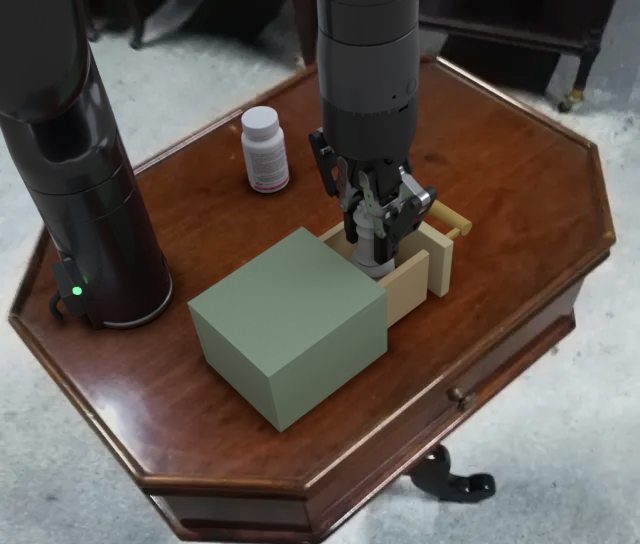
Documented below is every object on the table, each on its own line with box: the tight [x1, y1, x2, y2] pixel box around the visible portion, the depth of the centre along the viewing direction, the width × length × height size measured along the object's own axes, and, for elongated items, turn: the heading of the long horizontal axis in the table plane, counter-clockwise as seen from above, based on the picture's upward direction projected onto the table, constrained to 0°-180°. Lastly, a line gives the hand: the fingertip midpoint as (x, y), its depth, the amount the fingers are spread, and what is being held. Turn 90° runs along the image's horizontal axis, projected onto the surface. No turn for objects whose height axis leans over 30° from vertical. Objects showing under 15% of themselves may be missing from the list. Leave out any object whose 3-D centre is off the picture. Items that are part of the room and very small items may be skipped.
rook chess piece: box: [350, 200, 396, 282], centre depth 69 cm, size 4×4×8 cm
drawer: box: [317, 199, 473, 329], centre depth 73 cm, size 17×10×7 cm, turn 131°
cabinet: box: [186, 226, 388, 433], centre depth 70 cm, size 14×12×9 cm
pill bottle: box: [240, 105, 290, 194], centre depth 84 cm, size 5×5×8 cm
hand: (371, 248), depth 70 cm, fingers closed on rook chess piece, 3 cm apart
